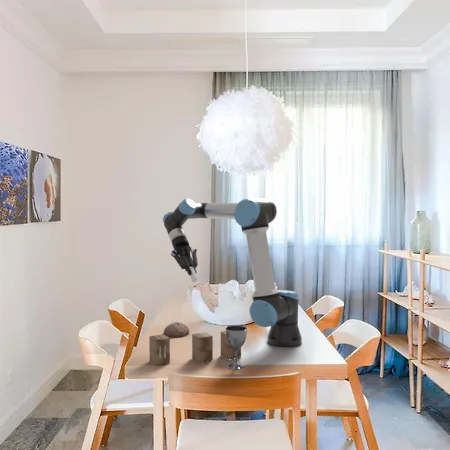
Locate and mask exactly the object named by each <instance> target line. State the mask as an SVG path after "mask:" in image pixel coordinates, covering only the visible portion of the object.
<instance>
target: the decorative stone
mask: <svg viewBox="0 0 450 450" xmlns="http://www.w3.org/2000/svg"><path fill="white" fill-rule="evenodd" d="M163 334H164V335H166V336H167V337H169V338H183V337H187V336H188V335H189V334H190V328H189V327H188V326H187V325H186V324H184V323H183V322H179V321H176V322H172V323H169V324H168V325H167V326H166V327H164V330H163Z"/></svg>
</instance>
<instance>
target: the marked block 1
mask: <svg viewBox="0 0 450 450" xmlns="http://www.w3.org/2000/svg"><path fill="white" fill-rule="evenodd" d="M170 338H171V337H168V336H166V335H164V333H163V334H158V335H150V336H149V341H148V342H149V362H150V363H151V362H152V363H153V364H154V365H153V364H152V363H151V364H152V365H153V366H155V367H158V366H159V367H160V366H163V365H169V364H168V363H171V344H170V343H171V341H170Z"/></svg>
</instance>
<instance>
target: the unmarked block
mask: <svg viewBox="0 0 450 450" xmlns="http://www.w3.org/2000/svg"><path fill="white" fill-rule="evenodd" d="M191 336H192V337H191V338H192V339H191V348H192V349H191V359H192V360H193V361H195V362H196V361H197V362H196V363H198V364H202V363H201V362H204V363H207V361H209V362H212V361H211V360H214V359H213V357H214V356H213V352H214V351H213V349H214V347H213V344H214V343H213V342H214V341H213V340H214V339H213V335H212V334H210V333H208V332H206V331H204V332H197V333H192V334H191Z"/></svg>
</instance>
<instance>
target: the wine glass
mask: <svg viewBox="0 0 450 450" xmlns="http://www.w3.org/2000/svg"><path fill="white" fill-rule="evenodd" d="M225 331H226V339H227V342H228V344H229V345H230V347H231V348H232V349H233V351H234V354H235V359H234V363H229V364H230V365H229V364H227V365H226V368H227V370H230V371H231V370H232V371H242V370H244V369H246V365H244V364H243V365H241V364H242V363H238V358H237V355H238V351H239V349H240V348H241V349H242V347H243V346H244V345H245V343H246V340H247V332H248V331H247V326H244V325H239V324H234V325H232V324H231V325H227V326H225Z"/></svg>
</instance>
